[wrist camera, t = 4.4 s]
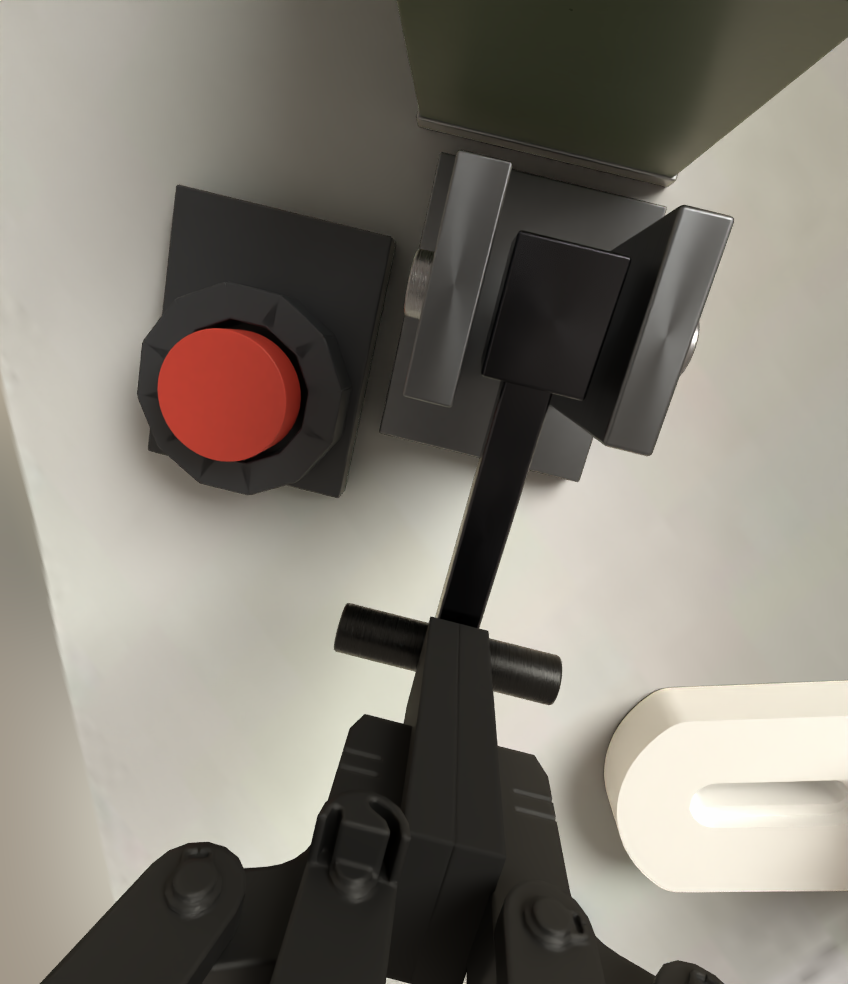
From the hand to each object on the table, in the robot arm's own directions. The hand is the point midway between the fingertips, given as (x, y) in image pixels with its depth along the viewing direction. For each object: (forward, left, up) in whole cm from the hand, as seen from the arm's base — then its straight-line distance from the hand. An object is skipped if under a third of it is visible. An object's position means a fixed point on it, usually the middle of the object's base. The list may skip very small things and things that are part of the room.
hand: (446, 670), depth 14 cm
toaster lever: (-5, 0, -2) cm, 5 cm away
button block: (-6, -9, -10) cm, 15 cm away
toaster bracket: (-9, 0, -10) cm, 13 cm away
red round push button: (-4, -9, -7) cm, 12 cm away
